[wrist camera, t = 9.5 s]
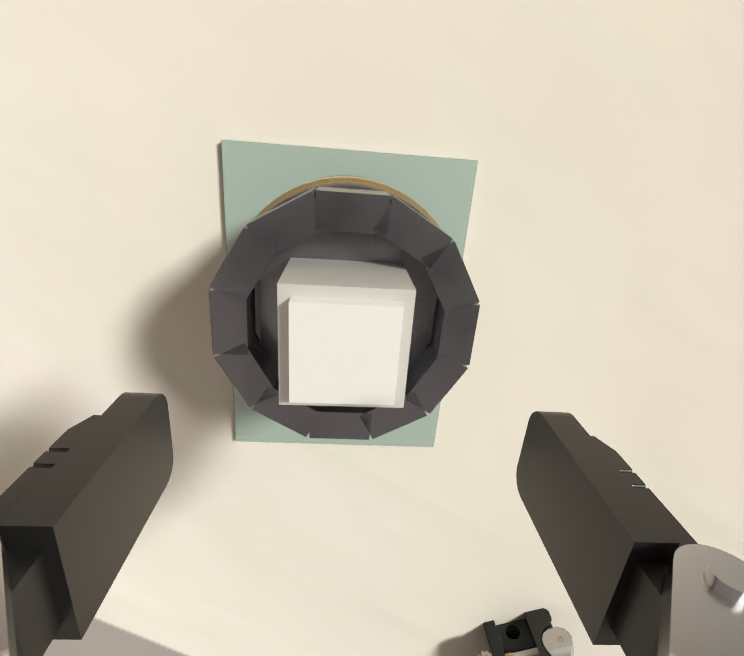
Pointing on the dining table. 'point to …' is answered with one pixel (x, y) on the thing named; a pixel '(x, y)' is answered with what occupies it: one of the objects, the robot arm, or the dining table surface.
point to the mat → (303, 164)
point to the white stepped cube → (344, 333)
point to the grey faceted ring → (352, 243)
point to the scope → (528, 637)
